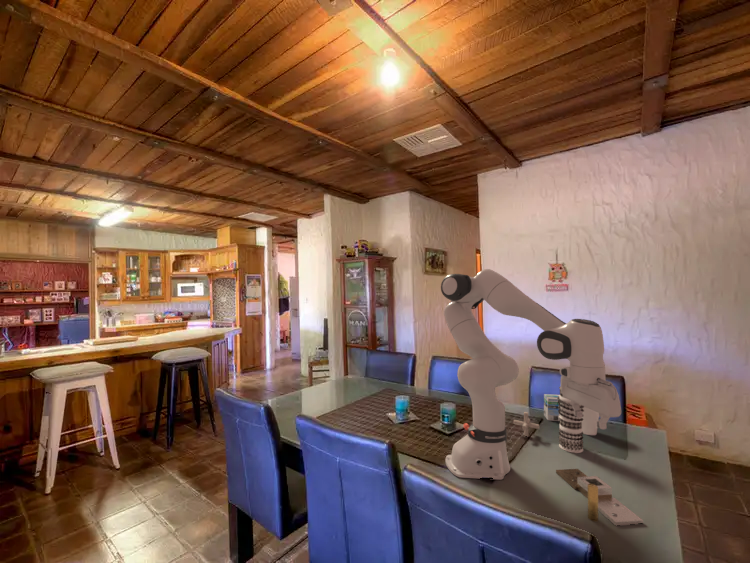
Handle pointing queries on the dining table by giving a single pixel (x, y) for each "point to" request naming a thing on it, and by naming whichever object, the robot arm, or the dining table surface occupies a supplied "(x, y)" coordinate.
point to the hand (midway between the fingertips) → (589, 422)
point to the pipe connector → (526, 424)
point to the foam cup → (589, 421)
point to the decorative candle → (569, 426)
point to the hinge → (600, 497)
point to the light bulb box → (551, 407)
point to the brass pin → (593, 502)
